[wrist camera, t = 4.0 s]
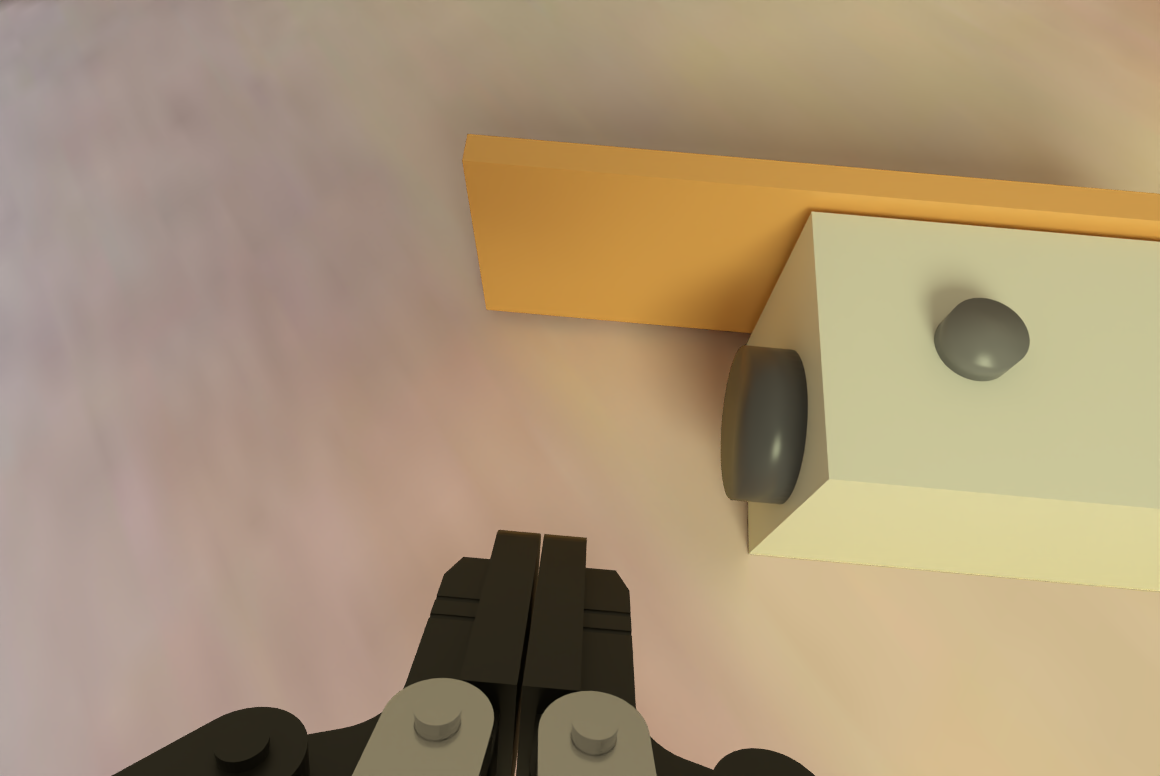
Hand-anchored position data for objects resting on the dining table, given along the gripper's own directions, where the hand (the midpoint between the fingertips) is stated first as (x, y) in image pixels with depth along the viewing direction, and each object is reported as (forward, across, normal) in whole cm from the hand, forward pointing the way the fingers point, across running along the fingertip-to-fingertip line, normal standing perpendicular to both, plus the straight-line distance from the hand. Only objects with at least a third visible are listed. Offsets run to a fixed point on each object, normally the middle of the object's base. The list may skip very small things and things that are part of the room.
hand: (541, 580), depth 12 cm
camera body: (+14, +14, -3) cm, 20 cm away
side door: (+17, +10, +1) cm, 20 cm away
